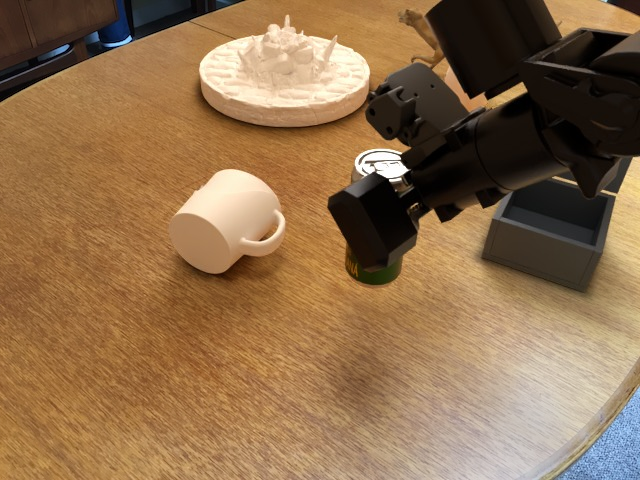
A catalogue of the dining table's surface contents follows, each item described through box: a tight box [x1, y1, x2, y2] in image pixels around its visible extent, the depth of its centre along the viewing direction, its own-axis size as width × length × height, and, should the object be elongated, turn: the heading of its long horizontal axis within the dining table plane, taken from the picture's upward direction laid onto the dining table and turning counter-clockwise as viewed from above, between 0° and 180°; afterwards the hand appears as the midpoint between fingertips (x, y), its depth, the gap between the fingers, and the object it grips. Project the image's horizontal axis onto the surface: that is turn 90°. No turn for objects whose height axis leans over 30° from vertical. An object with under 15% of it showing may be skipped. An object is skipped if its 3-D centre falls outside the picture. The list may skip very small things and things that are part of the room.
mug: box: [168, 168, 287, 275], centre depth 66 cm, size 12×9×8 cm
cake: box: [198, 14, 371, 128], centre depth 97 cm, size 28×28×10 cm
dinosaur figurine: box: [397, 6, 563, 70], centre depth 98 cm, size 8×26×13 cm, turn 74°
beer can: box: [344, 148, 413, 290], centre depth 53 cm, size 5×5×12 cm
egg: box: [444, 65, 489, 112], centre depth 91 cm, size 7×7×12 cm
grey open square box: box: [480, 177, 617, 293], centre depth 69 cm, size 12×12×6 cm
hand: (367, 209), depth 53 cm, fingers closed on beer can, 5 cm apart
